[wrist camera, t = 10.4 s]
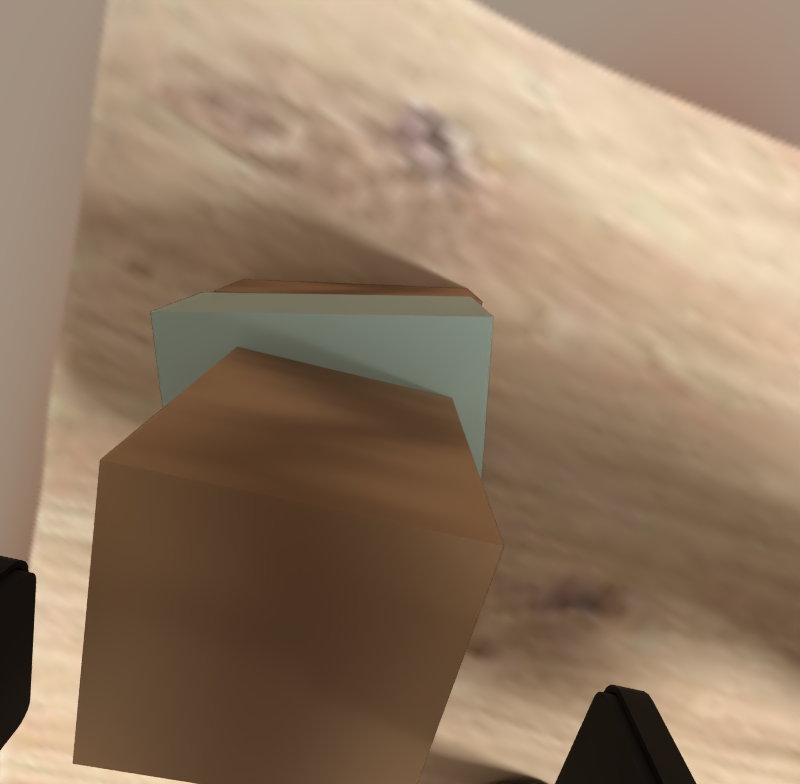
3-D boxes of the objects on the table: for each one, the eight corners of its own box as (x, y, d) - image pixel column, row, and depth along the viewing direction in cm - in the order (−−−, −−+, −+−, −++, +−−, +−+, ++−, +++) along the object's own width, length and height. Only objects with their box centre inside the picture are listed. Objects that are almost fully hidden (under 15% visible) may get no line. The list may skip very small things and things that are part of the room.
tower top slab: (471, 296, 18) (493, 316, 14) (457, 529, 21) (472, 599, 17) (202, 292, 18) (150, 311, 14) (224, 527, 20) (186, 597, 17)
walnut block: (452, 398, 15) (504, 546, 8) (398, 575, 16) (404, 816, 10) (236, 346, 14) (99, 460, 7) (205, 535, 16) (72, 764, 9)
